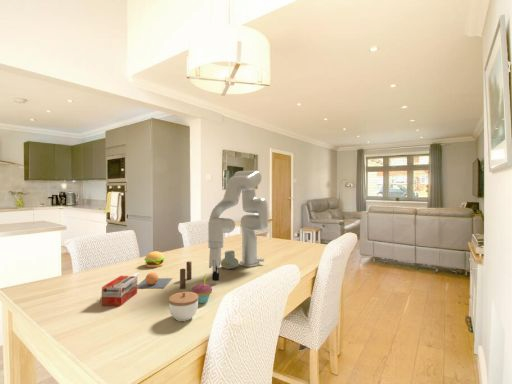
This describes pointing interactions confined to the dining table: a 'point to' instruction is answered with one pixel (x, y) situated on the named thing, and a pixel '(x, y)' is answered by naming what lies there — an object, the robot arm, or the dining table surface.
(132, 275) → the stopper wall
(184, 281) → the post
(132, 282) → the medicine box
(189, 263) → the post
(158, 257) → the hamburger
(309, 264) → the dining table surface
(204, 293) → the cupcake
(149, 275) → the ball
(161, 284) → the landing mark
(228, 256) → the air freshener
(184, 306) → the lidded jar
